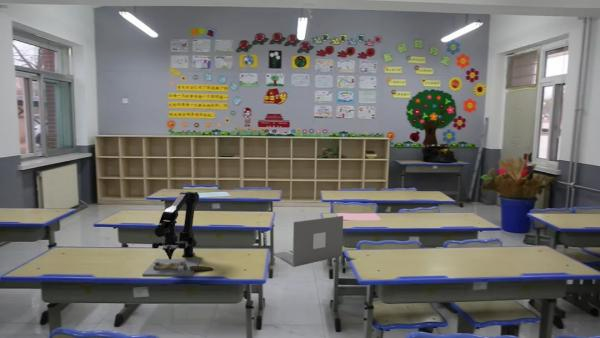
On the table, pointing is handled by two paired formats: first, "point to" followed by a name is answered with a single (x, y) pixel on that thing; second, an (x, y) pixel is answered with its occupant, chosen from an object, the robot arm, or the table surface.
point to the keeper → (181, 266)
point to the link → (166, 265)
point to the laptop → (315, 241)
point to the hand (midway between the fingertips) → (170, 259)
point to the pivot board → (172, 271)
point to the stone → (200, 268)
